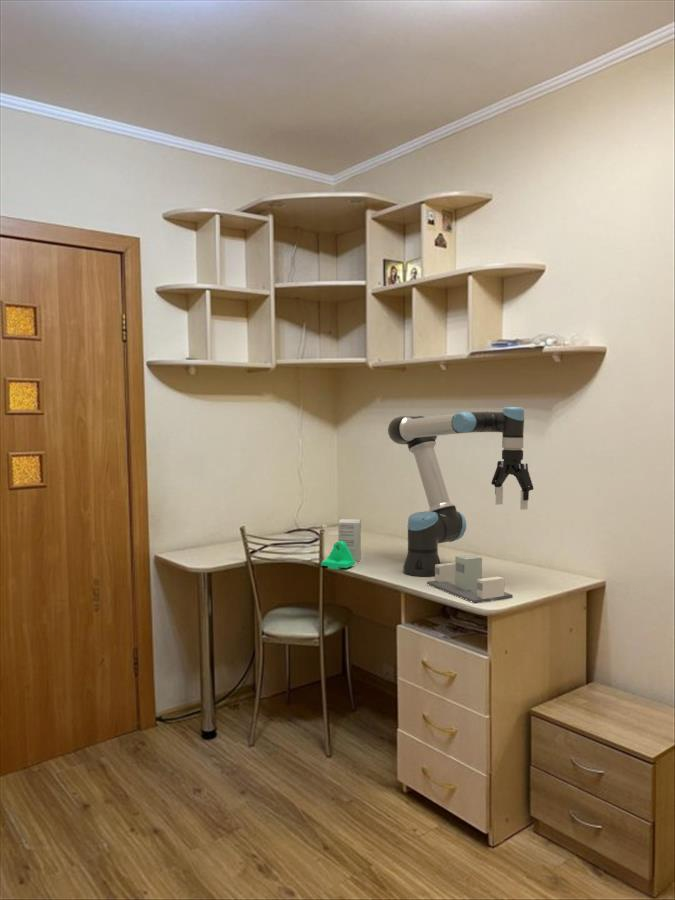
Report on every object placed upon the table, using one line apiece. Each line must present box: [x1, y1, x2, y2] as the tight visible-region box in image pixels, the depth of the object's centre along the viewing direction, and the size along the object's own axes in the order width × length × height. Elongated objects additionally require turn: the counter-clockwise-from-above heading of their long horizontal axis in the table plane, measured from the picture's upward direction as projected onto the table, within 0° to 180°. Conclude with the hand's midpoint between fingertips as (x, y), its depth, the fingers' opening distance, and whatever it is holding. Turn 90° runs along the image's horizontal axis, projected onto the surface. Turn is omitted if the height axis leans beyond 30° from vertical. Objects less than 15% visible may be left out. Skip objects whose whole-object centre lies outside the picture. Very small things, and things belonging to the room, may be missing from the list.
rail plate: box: [426, 561, 514, 604], centre depth 241 cm, size 28×16×7 cm, turn 26°
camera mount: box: [320, 541, 356, 570], centre depth 279 cm, size 12×8×10 cm, turn 63°
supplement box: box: [337, 518, 362, 562], centre depth 293 cm, size 10×9×17 cm
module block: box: [454, 554, 483, 591], centre depth 241 cm, size 6×7×11 cm
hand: (511, 506), depth 252 cm, fingers open, 13 cm apart
